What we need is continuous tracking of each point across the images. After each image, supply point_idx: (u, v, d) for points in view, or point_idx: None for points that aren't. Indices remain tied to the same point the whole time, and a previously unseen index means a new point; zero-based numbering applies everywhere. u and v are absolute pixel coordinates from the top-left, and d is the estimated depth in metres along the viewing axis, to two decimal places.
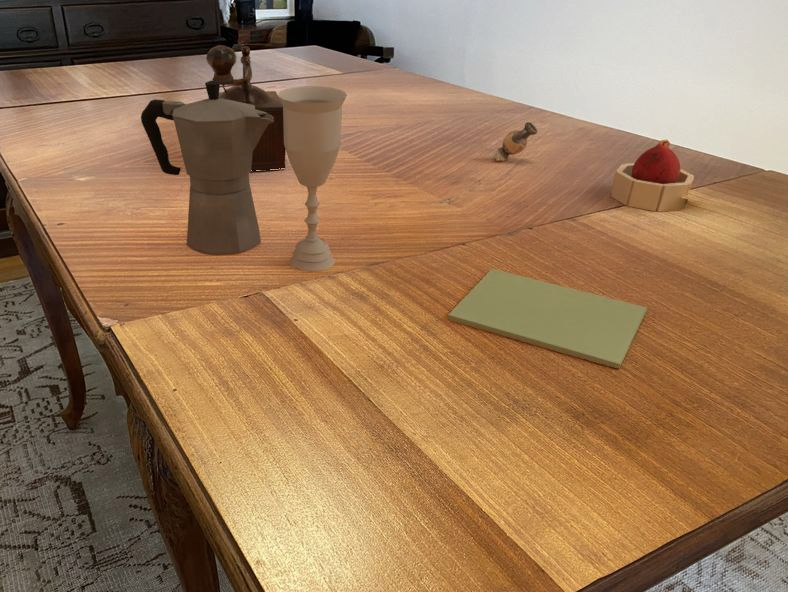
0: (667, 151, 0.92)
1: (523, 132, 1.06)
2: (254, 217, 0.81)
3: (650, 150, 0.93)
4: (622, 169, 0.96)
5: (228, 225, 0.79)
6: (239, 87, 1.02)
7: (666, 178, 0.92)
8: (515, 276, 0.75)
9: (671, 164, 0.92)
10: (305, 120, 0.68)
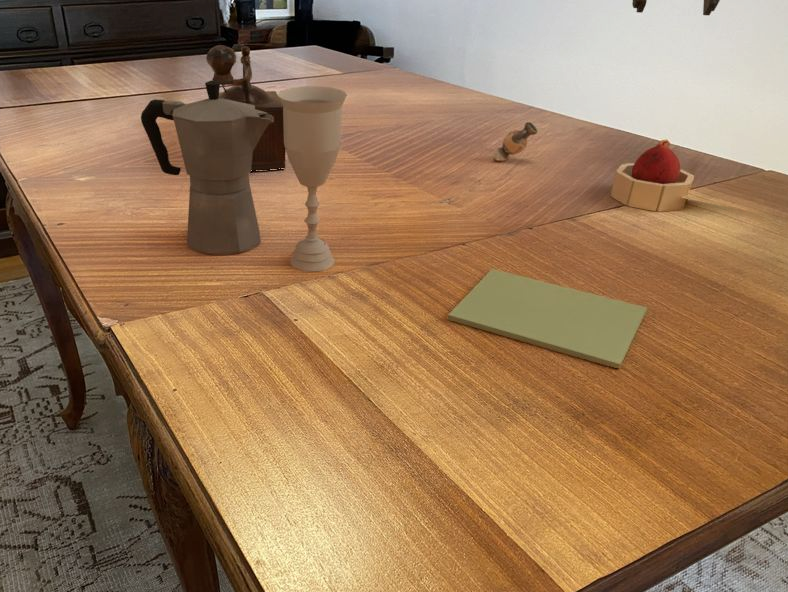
0: (667, 151, 0.92)
1: (523, 132, 1.06)
2: (254, 217, 0.81)
3: (650, 150, 0.93)
4: (622, 169, 0.96)
5: (228, 225, 0.79)
6: (239, 87, 1.02)
7: (666, 178, 0.92)
8: (515, 276, 0.75)
9: (671, 164, 0.92)
10: (305, 120, 0.68)
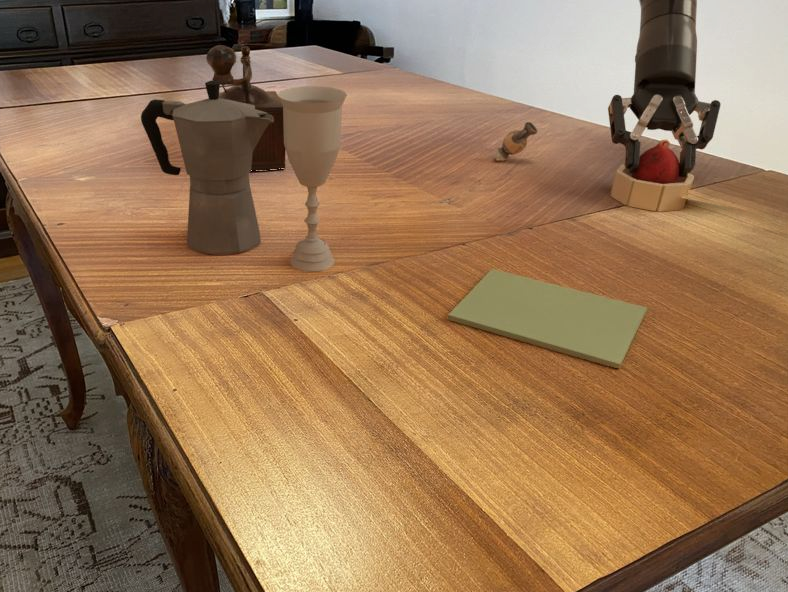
0: (667, 151, 0.92)
1: (523, 132, 1.06)
2: (254, 217, 0.81)
3: (650, 150, 0.93)
4: (622, 169, 0.96)
5: (228, 225, 0.79)
6: (239, 87, 1.02)
7: (666, 178, 0.92)
8: (515, 276, 0.75)
9: (671, 164, 0.92)
10: (305, 120, 0.68)
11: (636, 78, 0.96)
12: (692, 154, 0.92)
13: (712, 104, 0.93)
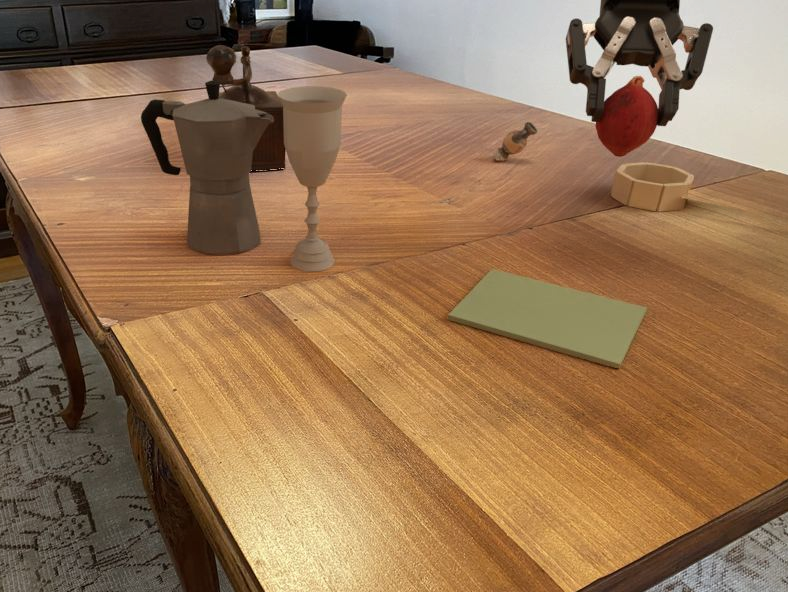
0: (641, 91, 0.69)
1: (523, 132, 1.06)
2: (254, 217, 0.81)
3: (618, 90, 0.70)
4: (622, 169, 0.96)
5: (228, 225, 0.79)
6: (239, 87, 1.02)
7: (640, 127, 0.69)
8: (515, 276, 0.75)
9: (646, 109, 0.69)
10: (305, 120, 0.68)
11: None
12: (674, 95, 0.69)
13: (702, 28, 0.70)
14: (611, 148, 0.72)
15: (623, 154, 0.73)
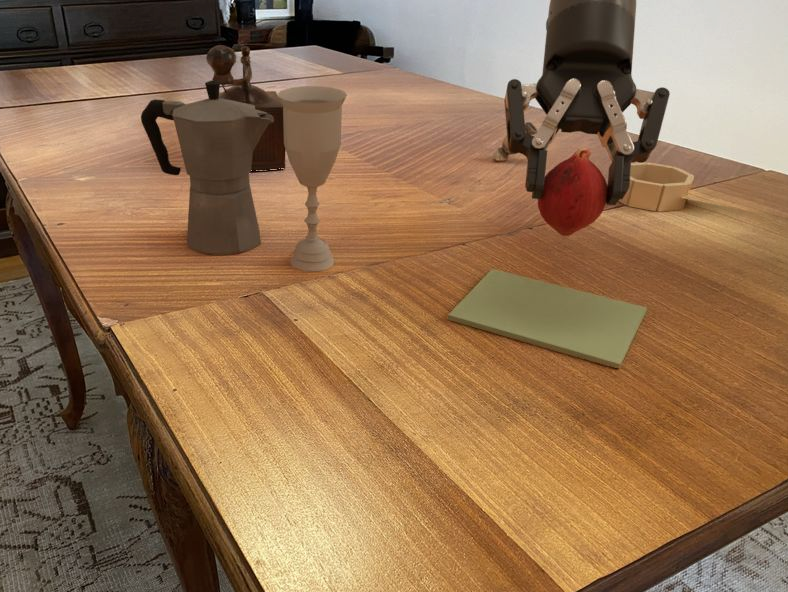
0: (586, 166, 0.60)
1: None
2: (254, 217, 0.81)
3: (562, 164, 0.61)
4: None
5: (228, 225, 0.79)
6: (239, 87, 1.02)
7: (585, 208, 0.60)
8: (515, 276, 0.75)
9: (592, 187, 0.60)
10: (305, 120, 0.68)
11: (545, 55, 0.64)
12: (625, 171, 0.60)
13: (657, 94, 0.60)
14: (555, 228, 0.63)
15: (569, 234, 0.64)
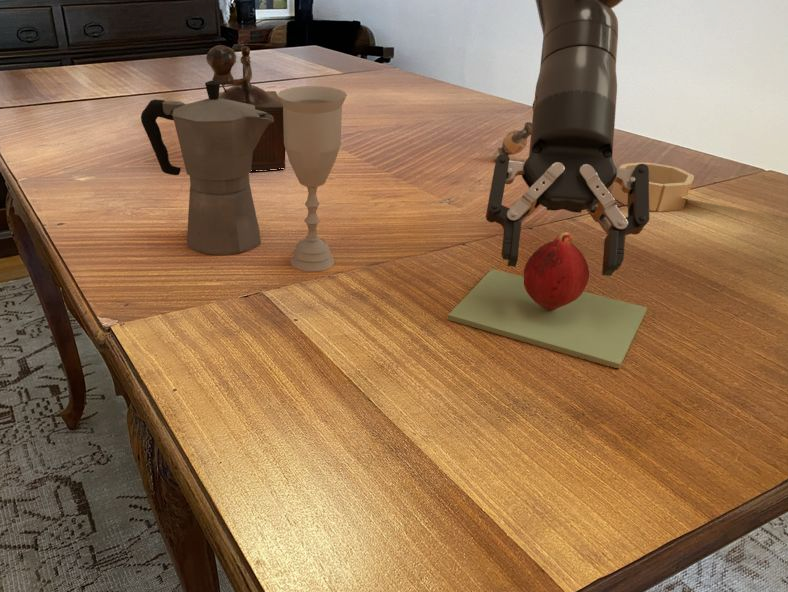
0: (568, 250, 0.64)
1: (523, 132, 1.06)
2: (254, 217, 0.81)
3: (545, 247, 0.65)
4: None
5: (228, 225, 0.79)
6: (239, 87, 1.02)
7: (567, 289, 0.64)
8: (515, 276, 0.75)
9: (574, 270, 0.64)
10: (305, 120, 0.68)
11: (531, 137, 0.67)
12: (619, 244, 0.64)
13: (637, 170, 0.64)
14: (539, 304, 0.67)
15: (553, 309, 0.68)
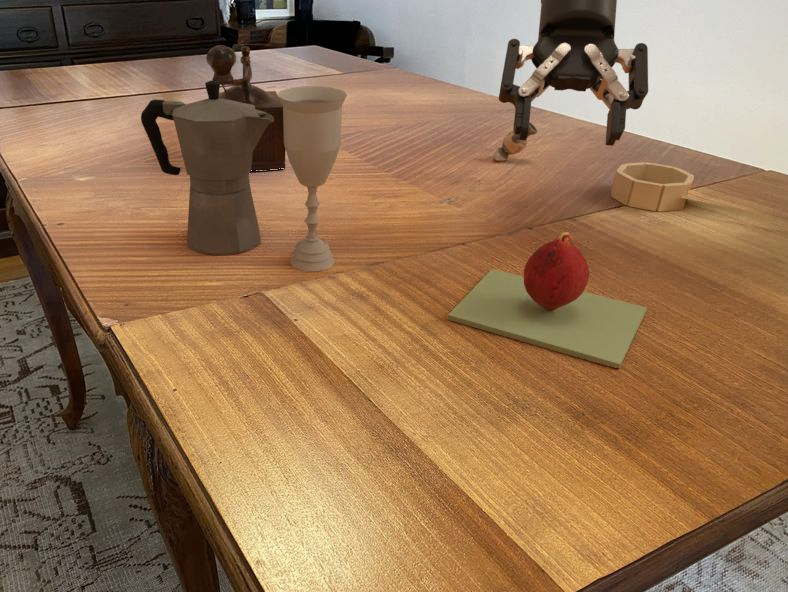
0: (568, 250, 0.64)
1: None
2: (254, 217, 0.81)
3: (545, 247, 0.65)
4: (622, 169, 0.96)
5: (228, 225, 0.79)
6: (239, 87, 1.02)
7: (567, 289, 0.64)
8: (515, 276, 0.75)
9: (574, 269, 0.64)
10: (305, 120, 0.68)
11: (540, 24, 0.74)
12: (621, 115, 0.70)
13: (637, 49, 0.71)
14: (539, 304, 0.67)
15: (553, 309, 0.68)
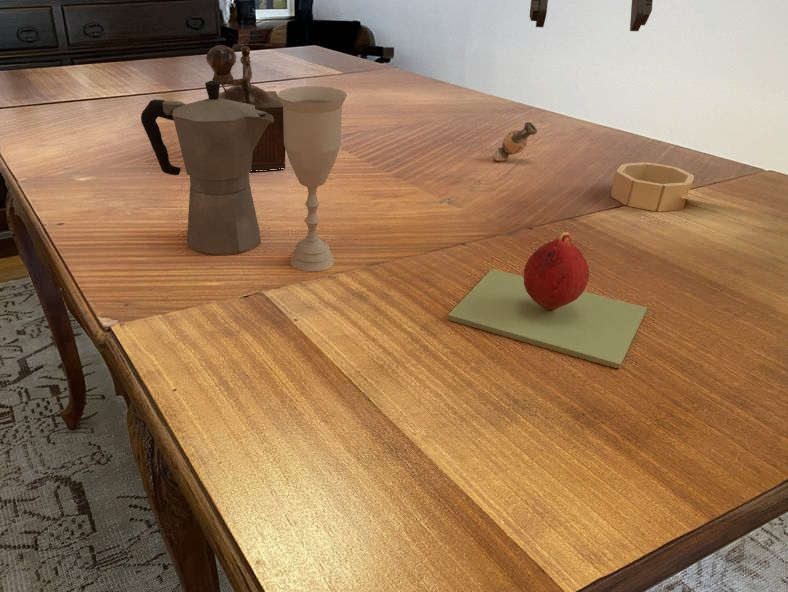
0: (568, 250, 0.64)
1: (523, 132, 1.06)
2: (254, 217, 0.81)
3: (545, 247, 0.65)
4: (622, 169, 0.96)
5: (228, 225, 0.79)
6: (239, 87, 1.02)
7: (567, 289, 0.64)
8: (515, 276, 0.75)
9: (574, 269, 0.64)
10: (305, 120, 0.68)
11: None
12: None
13: None
14: (539, 304, 0.67)
15: (553, 309, 0.68)
